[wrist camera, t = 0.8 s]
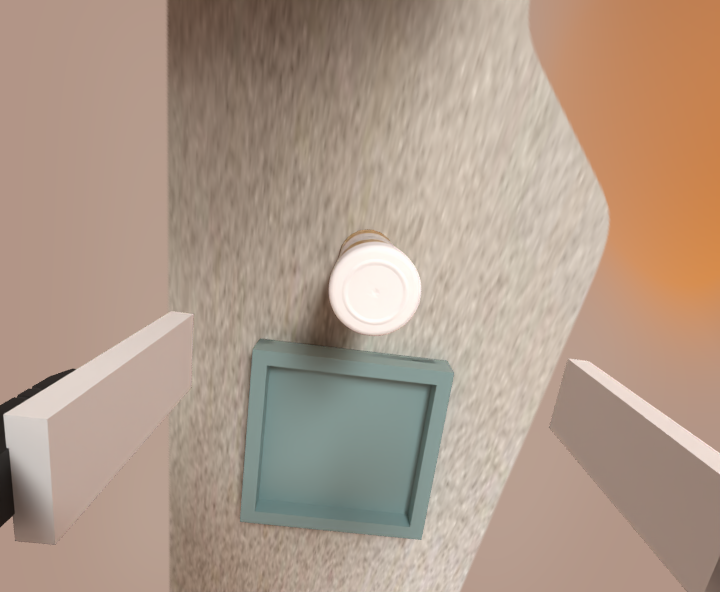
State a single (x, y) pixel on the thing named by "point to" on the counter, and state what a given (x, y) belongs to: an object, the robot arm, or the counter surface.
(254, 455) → the tray
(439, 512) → the counter surface
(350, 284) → the sprinkles bottle
